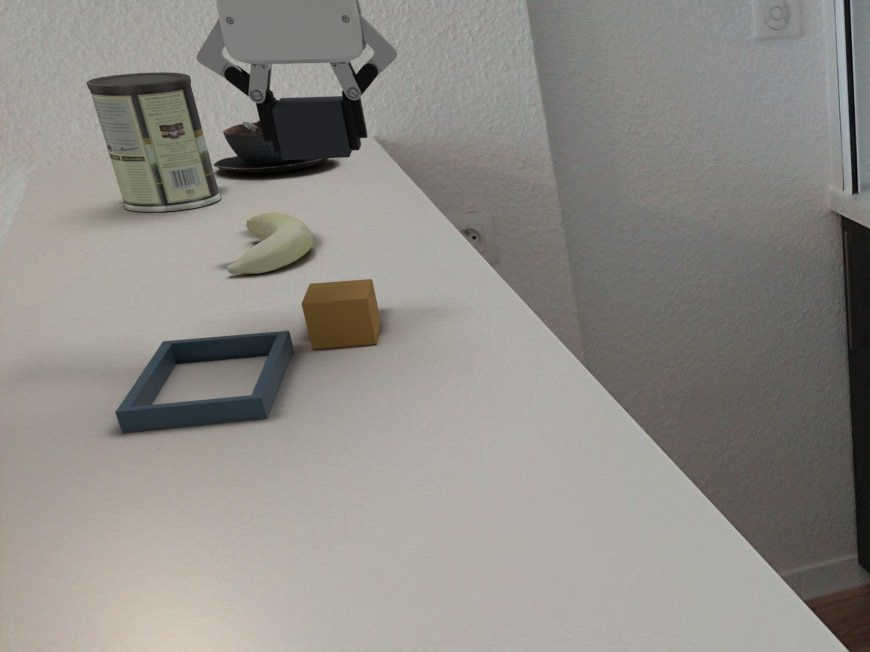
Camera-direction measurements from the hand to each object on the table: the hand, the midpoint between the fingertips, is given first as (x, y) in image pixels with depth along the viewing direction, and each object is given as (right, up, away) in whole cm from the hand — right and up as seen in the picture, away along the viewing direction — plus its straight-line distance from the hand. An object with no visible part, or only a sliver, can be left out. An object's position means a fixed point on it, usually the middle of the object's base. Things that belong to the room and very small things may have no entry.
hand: (318, 146), depth 107 cm
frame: (-2, -22, -10) cm, 25 cm away
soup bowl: (-37, +16, +63) cm, 75 cm away
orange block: (+1, -15, +3) cm, 16 cm away
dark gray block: (0, 0, 0) cm, 0 cm away
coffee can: (-40, +7, +46) cm, 61 cm away
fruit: (-18, -4, +25) cm, 31 cm away
